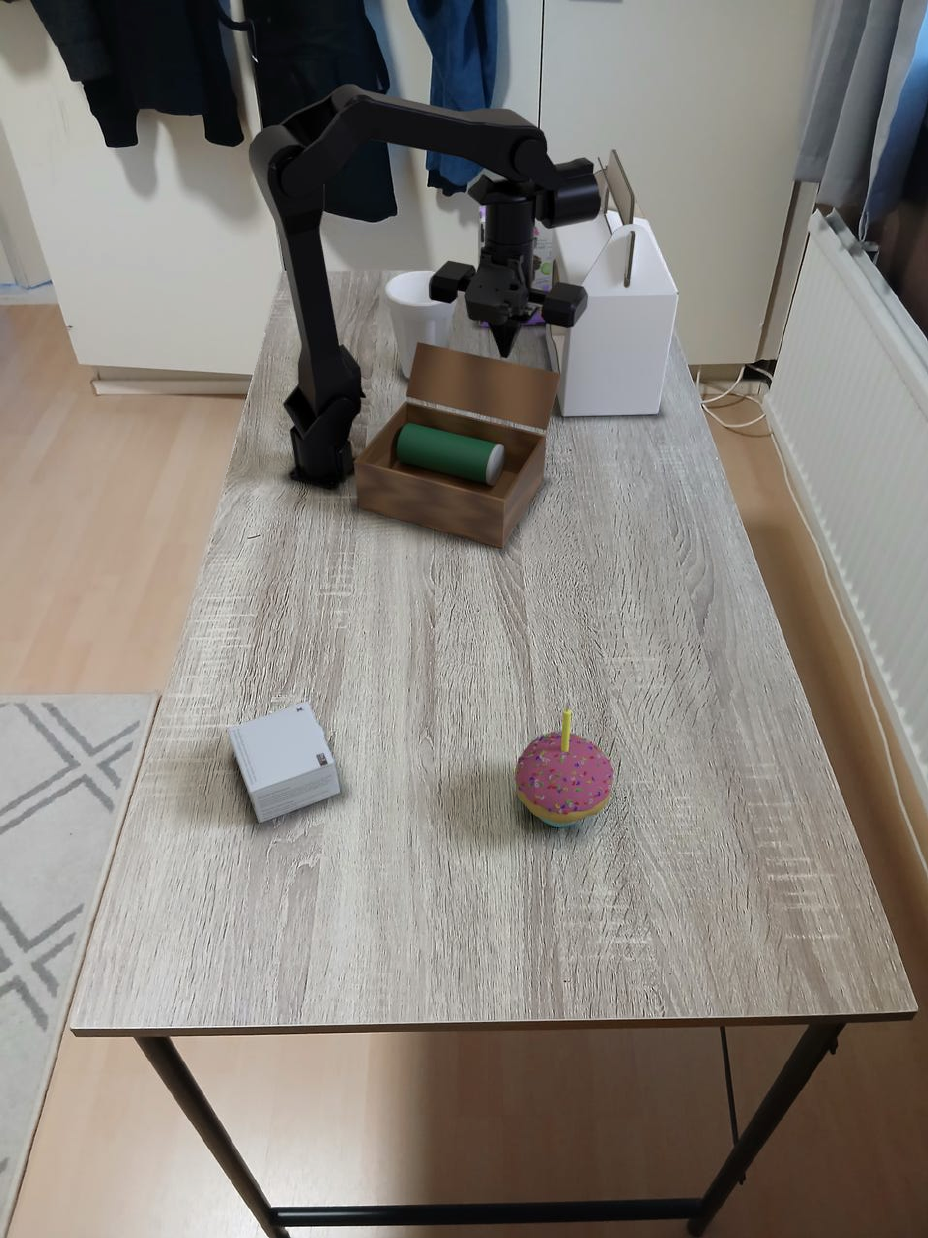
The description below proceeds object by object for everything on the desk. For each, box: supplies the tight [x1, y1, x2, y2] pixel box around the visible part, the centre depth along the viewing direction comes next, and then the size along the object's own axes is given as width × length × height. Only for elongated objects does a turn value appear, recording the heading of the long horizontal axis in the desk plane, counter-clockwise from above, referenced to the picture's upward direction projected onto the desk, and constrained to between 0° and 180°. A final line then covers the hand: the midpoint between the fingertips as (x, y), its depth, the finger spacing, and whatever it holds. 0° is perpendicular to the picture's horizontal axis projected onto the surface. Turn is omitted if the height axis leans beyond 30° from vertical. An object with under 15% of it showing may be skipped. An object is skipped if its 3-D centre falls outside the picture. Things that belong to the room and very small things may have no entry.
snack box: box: [353, 400, 548, 549], centre depth 112 cm, size 19×14×7 cm
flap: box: [405, 342, 561, 431], centre depth 113 cm, size 19×7×1 cm
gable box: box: [545, 148, 680, 417], centre depth 123 cm, size 22×13×28 cm, turn 2°
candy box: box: [477, 206, 553, 328], centre depth 139 cm, size 14×6×16 cm, turn 93°
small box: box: [227, 700, 341, 824], centre depth 83 cm, size 8×8×5 cm
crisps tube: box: [397, 423, 505, 486], centre depth 115 cm, size 5×5×12 cm
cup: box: [384, 270, 459, 380], centre depth 129 cm, size 10×10×13 cm
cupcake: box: [514, 701, 615, 828], centre depth 79 cm, size 9×8×12 cm
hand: (505, 356), depth 118 cm, fingers closed
